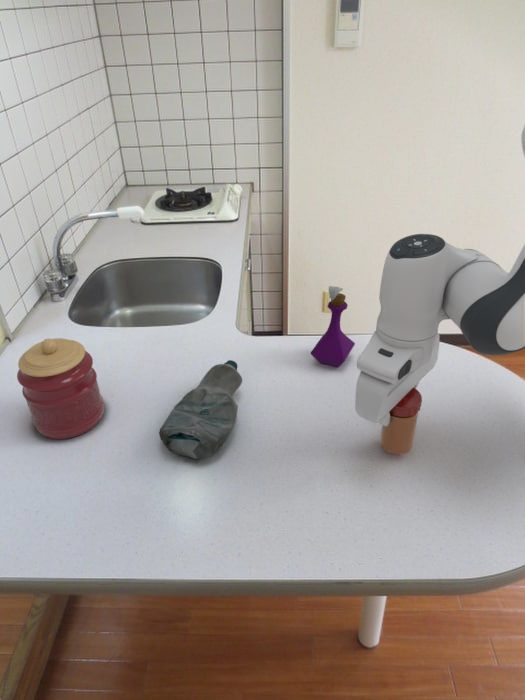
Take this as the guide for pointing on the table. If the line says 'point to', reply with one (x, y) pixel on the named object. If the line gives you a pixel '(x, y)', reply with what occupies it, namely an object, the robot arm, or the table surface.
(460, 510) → the table surface
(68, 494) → the table surface
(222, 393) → the crushed plastic bottle
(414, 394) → the jar lid
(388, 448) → the jam jar
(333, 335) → the purple potion bottle
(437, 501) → the table surface
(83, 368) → the kitchen canister
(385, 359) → the robot arm
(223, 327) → the table surface
